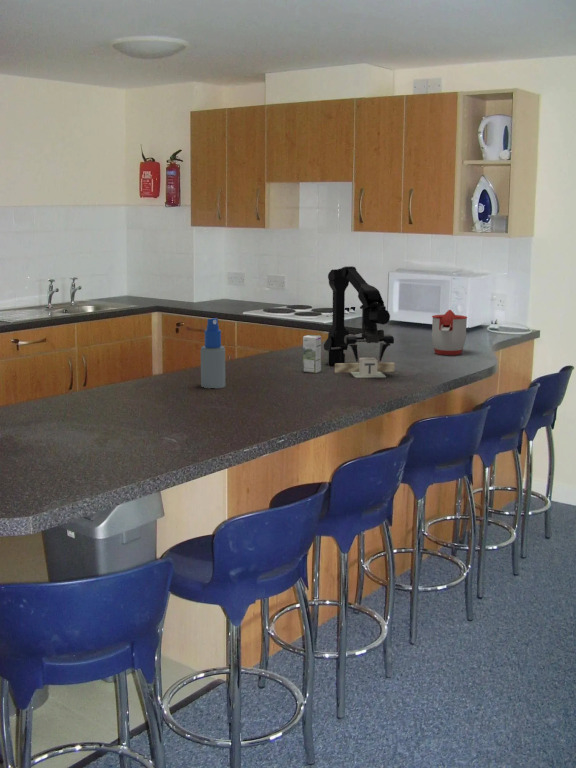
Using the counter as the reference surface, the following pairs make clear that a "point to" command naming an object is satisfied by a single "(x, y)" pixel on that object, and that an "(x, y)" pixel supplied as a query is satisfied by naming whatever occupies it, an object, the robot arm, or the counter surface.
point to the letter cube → (367, 366)
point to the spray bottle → (212, 357)
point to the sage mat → (358, 375)
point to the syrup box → (311, 353)
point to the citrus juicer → (449, 333)
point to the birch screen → (355, 367)
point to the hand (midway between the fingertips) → (368, 361)
